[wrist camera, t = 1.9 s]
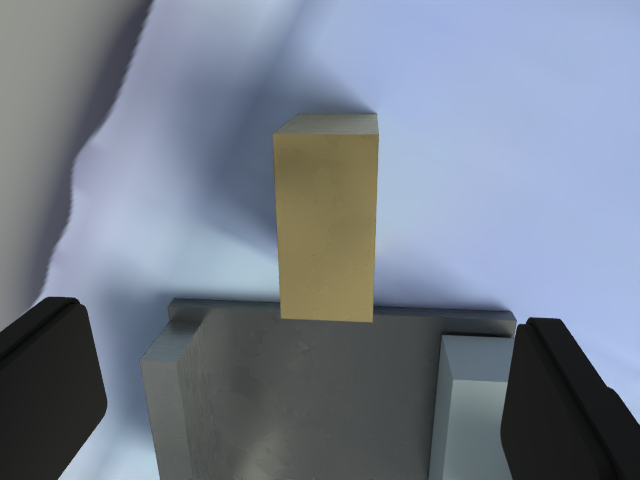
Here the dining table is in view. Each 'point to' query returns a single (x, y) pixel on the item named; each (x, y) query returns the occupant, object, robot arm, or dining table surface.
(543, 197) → the dining table surface
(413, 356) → the panel
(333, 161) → the block
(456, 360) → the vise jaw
